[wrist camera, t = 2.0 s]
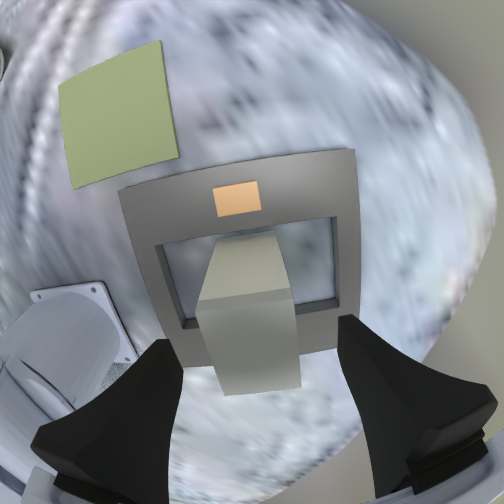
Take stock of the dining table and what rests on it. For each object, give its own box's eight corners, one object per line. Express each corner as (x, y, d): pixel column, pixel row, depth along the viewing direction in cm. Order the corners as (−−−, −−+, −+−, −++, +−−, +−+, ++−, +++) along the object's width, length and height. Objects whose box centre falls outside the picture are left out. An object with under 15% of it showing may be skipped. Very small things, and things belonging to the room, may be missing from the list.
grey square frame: (182, 357, 21) (178, 371, 19) (125, 187, 16) (114, 192, 14) (352, 333, 20) (358, 346, 19) (347, 148, 15) (357, 149, 13)
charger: (232, 306, 19) (224, 395, 11) (217, 239, 17) (194, 312, 10) (283, 298, 19) (301, 386, 11) (274, 230, 17) (293, 298, 9)
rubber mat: (76, 188, 15) (73, 189, 15) (61, 86, 13) (58, 85, 12) (180, 157, 15) (178, 157, 15) (161, 41, 12) (159, 39, 12)
